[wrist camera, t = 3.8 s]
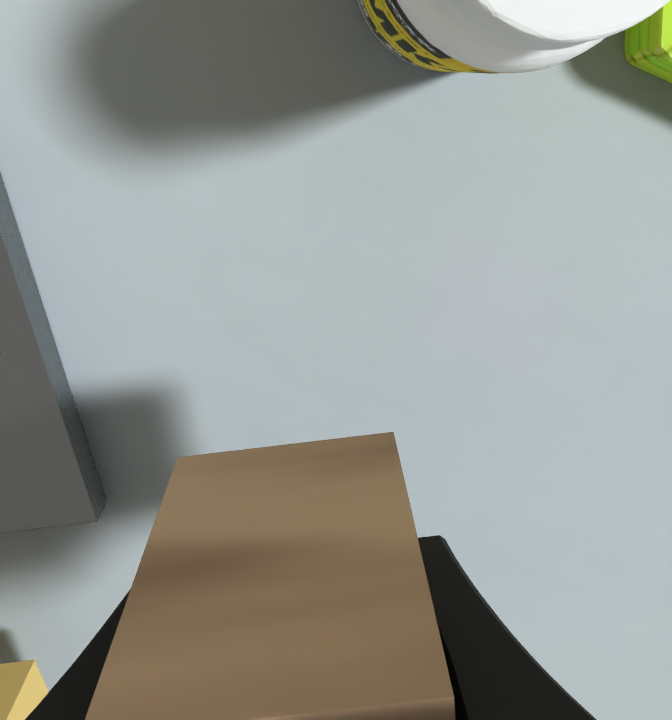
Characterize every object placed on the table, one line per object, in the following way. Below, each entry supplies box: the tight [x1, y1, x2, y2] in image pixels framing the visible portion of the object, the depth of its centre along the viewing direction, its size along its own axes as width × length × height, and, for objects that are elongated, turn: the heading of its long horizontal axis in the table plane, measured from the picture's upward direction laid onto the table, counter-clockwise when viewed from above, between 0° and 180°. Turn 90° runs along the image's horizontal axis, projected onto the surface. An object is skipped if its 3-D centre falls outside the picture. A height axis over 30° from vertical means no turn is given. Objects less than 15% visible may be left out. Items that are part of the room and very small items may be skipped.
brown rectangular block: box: [85, 432, 455, 720], centre depth 11 cm, size 6×4×6 cm
